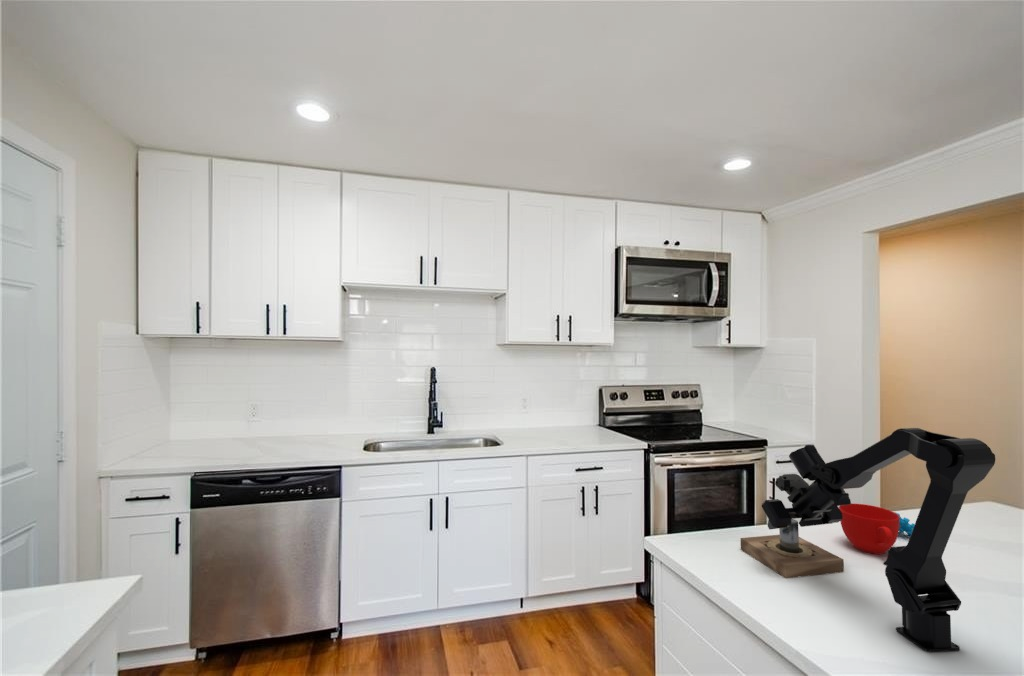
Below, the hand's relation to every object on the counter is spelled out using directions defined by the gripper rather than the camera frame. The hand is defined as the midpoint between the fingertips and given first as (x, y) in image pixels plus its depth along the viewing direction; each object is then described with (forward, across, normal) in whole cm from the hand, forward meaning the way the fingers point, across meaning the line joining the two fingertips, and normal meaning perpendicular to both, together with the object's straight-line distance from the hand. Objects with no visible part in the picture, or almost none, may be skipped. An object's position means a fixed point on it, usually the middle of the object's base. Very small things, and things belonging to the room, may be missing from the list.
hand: (784, 526), depth 120 cm
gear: (+10, -42, +1) cm, 44 cm away
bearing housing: (+5, 0, +7) cm, 8 cm away
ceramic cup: (+5, -25, +7) cm, 27 cm away
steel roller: (+5, 0, +7) cm, 8 cm away
